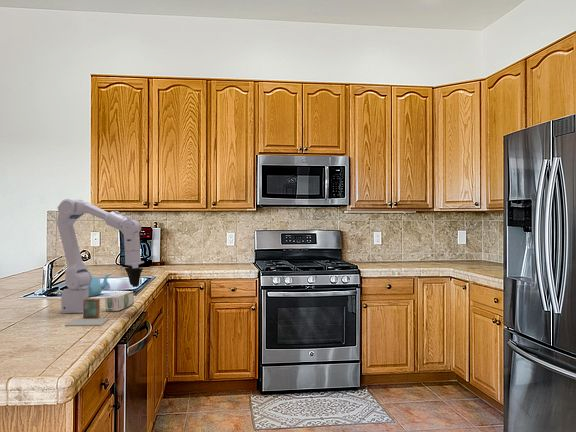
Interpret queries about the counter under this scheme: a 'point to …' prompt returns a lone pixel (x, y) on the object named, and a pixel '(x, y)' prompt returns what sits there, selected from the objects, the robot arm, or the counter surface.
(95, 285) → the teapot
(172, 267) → the counter surface
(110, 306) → the syrup box
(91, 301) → the walnut slab
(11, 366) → the counter surface
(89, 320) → the grey mat
